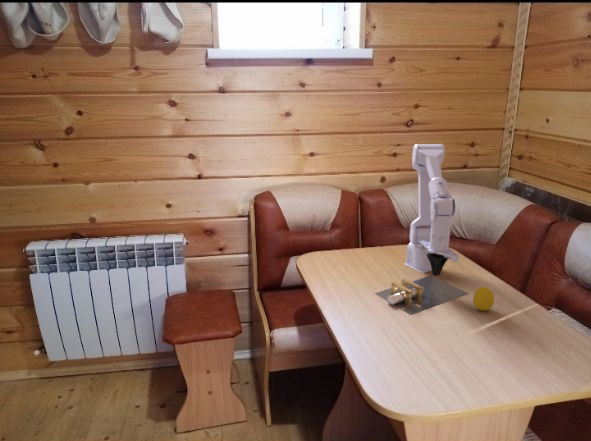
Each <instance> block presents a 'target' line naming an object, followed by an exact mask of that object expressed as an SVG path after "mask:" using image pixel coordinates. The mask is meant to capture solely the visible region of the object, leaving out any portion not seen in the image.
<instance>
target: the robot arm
mask: <svg viewBox="0 0 591 441" xmlns="http://www.w3.org/2000/svg"><path fill="white" fill-rule="evenodd" d="M411 155H412V156H411V158H412V159H411V161H412V164H411V165H412V169H414V170H416V172H417V181H418V184H417V185H418V186H417V187H418V189H417V192H418V194H417V195H418V198H417V199H418V202H417V203H418V206H417V208H418V217H417V218H415V219H413V221H411V223H410V228H409V241H410V242H409V243H408V245H407V247H406V253H405V254H406V257H405V263H404V265H405V266H408V267H410V268H411V269H413V270H415V271H417V272H419V273H422V274H425V273H428V272H430V271H431V272H432V276H434V277H437V276H440V275H441V273H442V270H443V268H444V267H445V265H446V263H447V261H448V260H451V261H452V263H456V262H459V260H460V254H457V253H456V252H455V251H453V250H452V249H451V248H449V247H450V246H449V244H450V236H451V228H452V217H454V215H455V213H456V200H455V198H454V197H453V195H452V194H450V193H451V192H450V190H449V187H448V186H449V185H448V181H447V180H446V179H445V178H443V173H442V165H443V162H444V160H445V155H446V148H445V145H444V144H443V143H436V144H434V143H429V144H426V143H425V144H422V143H420V144H419V143H415V144H414V145H413V147H412V152H411Z"/></svg>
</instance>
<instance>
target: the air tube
mask: <svg viewBox="0 0 591 441" xmlns="http://www.w3.org/2000/svg"><path fill="white" fill-rule="evenodd" d="M421 287H422V286H421ZM410 290H412V298H414V297H415V293H416V289H415V288H412V289H410ZM424 292H425V291H424V288H423V290H422V295H423V294H424ZM405 293H406V292H404V291H403V292H400V293H397V294H394V295H391V296H388V297H387V304H388V306H389V305H390V306H395V305H394V304H397V303H399V302H402V301H405Z"/></svg>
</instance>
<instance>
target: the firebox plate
mask: <svg viewBox="0 0 591 441" xmlns="http://www.w3.org/2000/svg"><path fill="white" fill-rule="evenodd" d="M390 286H391V287H390V288H387V289H384V290H381V291H378V292H375V293H374V294H375V295H377V296H378V297H380V298H381V299H383V300H384V301H387V297H388V296H391V295H394V294H397V293H400V292H403V291H404V292H406V293H405V301H402V302H399V303H397V304H394V305H393V306H395V307H396V308H398V309H399V310H401V311H403V312H405V313H406V314H408V315H409V316H412V315H415V314H418V313H421V312H422V311H425V310H428V309H431V308H434V307H437V306H439V305H441V304H445V303H447V302H450V301H453V300H455V299H458V298H461V297H464V296H466V295H469V294H470V293H469V292H467V291H465V290H462V289H461V288H458V287H456V286H455V285H452V284H450V283H448V282H446V281H444V280H442V279H439V278H438V277H437V276H434V275H427V276H425V277H422V278H419V279H416V280H413V281H411V280H410V279H408V278H405V277H404V278H401V283H399V282H397V281H395V280H394V281H392V282H391V285H390ZM421 286H422V287H421ZM412 288H415V289H416V293H415V297H414V298H412V290H410V289H412ZM423 288H424V291H425V292H424V294H423V295H422V290H423Z"/></svg>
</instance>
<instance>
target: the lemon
mask: <svg viewBox="0 0 591 441" xmlns="http://www.w3.org/2000/svg"><path fill="white" fill-rule="evenodd" d="M494 296H495V295H494V293H493V291H492V290H491V289H490V288H488V287H487V286H482V287H479V288H478V289H476V290H475V292H474V295H473V305H474V307H475V308H476V309H478V310H480V311H482V312H484V311H485V312H486V311H488V310H490V309H492V307H493V305H494V302H495V301H494V300H495V299H494V298H495V297H494Z"/></svg>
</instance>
